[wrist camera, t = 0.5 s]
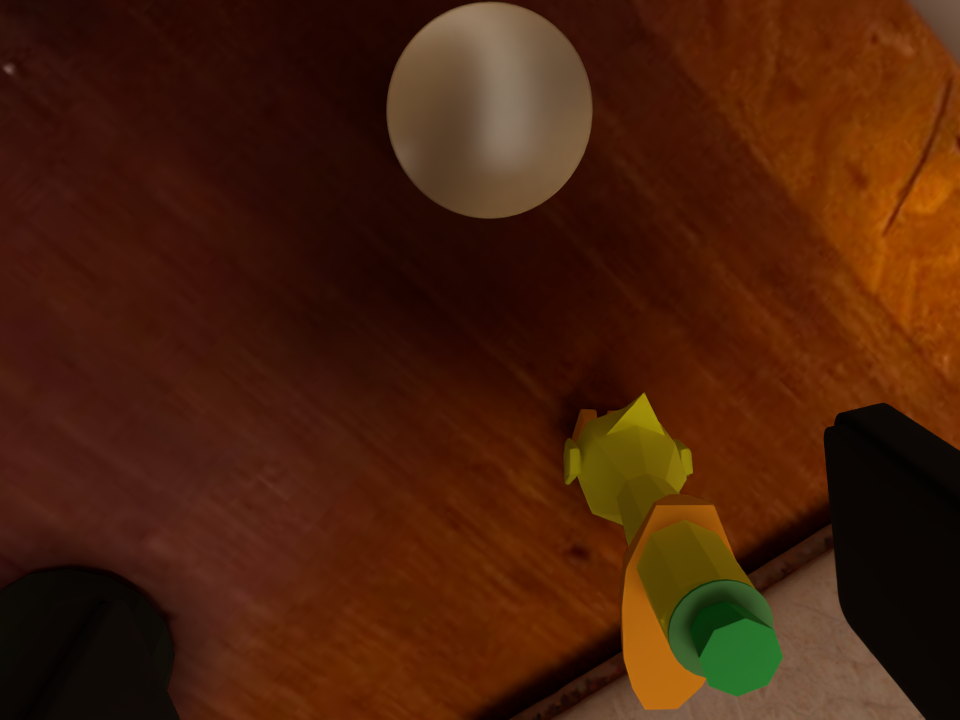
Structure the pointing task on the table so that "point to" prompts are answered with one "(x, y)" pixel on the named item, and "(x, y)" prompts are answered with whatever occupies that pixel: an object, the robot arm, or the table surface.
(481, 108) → the cylinder
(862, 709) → the case
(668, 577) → the toy figure
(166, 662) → the potion bottle
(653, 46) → the table surface
